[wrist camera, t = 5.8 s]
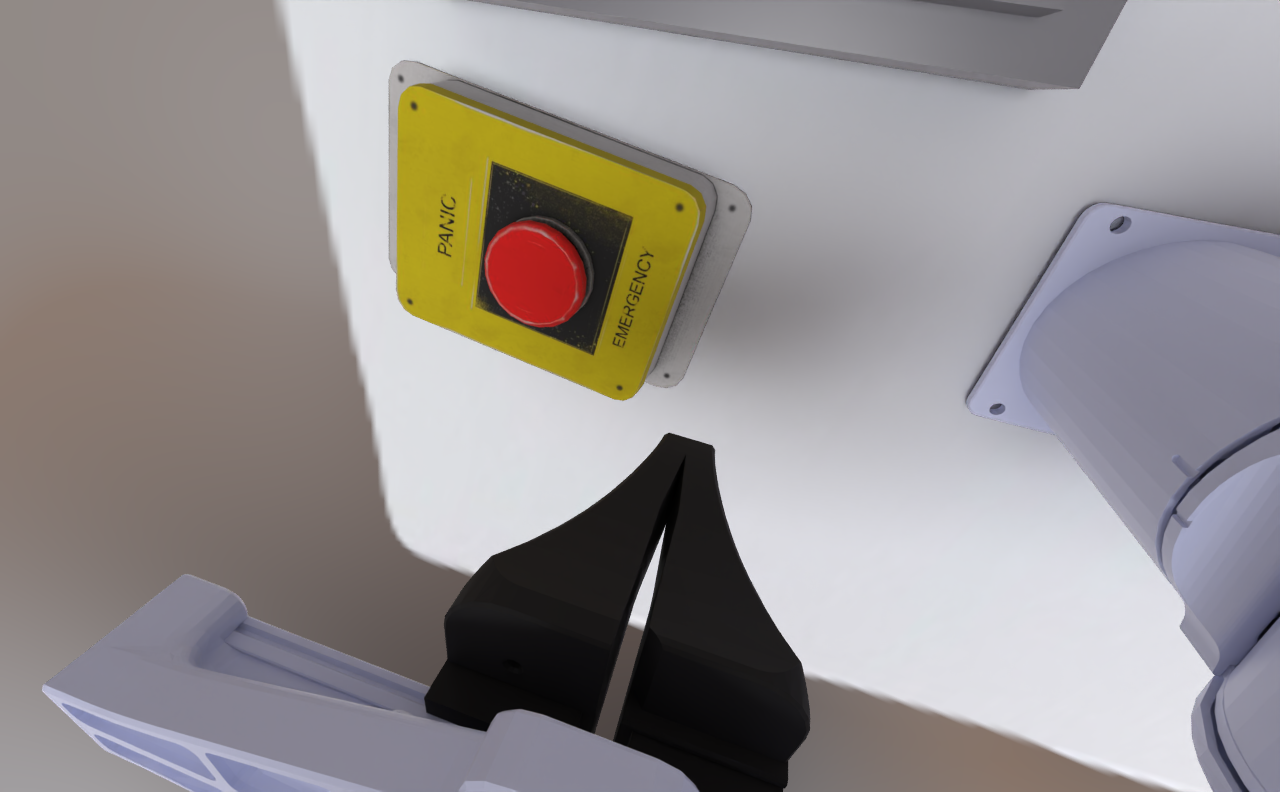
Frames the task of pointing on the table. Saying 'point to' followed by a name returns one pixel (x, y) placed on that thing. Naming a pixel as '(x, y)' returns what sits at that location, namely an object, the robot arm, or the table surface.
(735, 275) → the table surface
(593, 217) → the emergency button
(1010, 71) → the switch strip
